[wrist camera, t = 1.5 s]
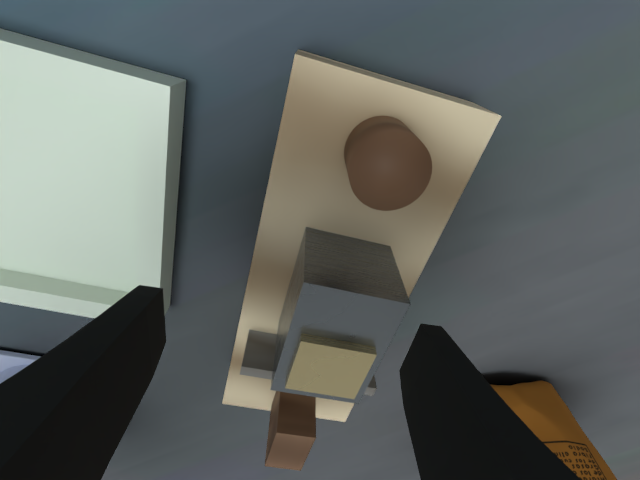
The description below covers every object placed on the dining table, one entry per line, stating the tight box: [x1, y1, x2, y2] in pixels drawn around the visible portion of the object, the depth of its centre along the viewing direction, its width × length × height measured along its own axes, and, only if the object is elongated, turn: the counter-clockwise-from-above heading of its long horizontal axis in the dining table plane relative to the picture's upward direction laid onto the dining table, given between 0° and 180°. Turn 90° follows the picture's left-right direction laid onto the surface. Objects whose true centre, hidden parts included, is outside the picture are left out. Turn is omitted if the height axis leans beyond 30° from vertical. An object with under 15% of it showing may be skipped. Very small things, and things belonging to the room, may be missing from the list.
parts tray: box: [0, 28, 186, 318], centre depth 17 cm, size 13×11×2 cm
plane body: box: [222, 49, 501, 471], centre depth 17 cm, size 20×8×7 cm, turn 165°
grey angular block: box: [270, 227, 411, 404], centre depth 16 cm, size 6×4×4 cm, turn 165°
